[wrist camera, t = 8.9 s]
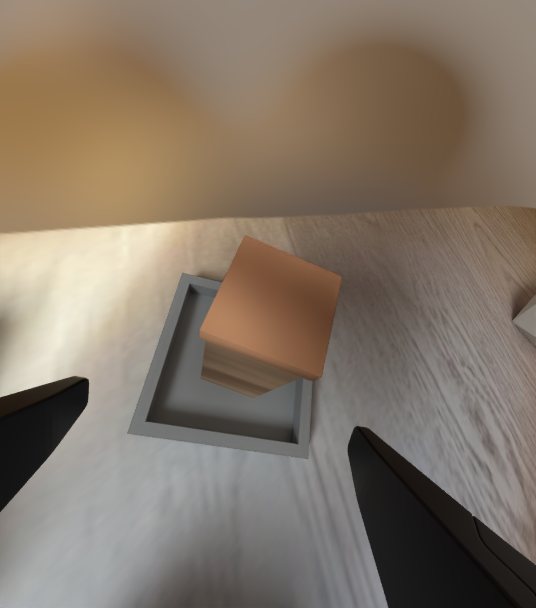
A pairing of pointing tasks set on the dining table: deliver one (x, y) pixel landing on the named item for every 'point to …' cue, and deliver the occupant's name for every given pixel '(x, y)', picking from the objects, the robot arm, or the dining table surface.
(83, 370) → the dining table surface
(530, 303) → the die
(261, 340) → the brown block
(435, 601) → the robot arm
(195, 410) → the tray
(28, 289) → the dining table surface
